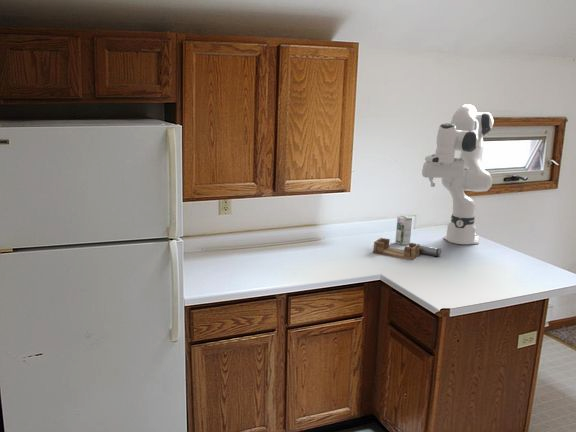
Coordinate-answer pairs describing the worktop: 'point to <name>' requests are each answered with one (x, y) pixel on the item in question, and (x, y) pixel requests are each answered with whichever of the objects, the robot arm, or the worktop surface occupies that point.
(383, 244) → the cradle
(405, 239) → the syrup box
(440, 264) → the worktop surface
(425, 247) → the cylinder
